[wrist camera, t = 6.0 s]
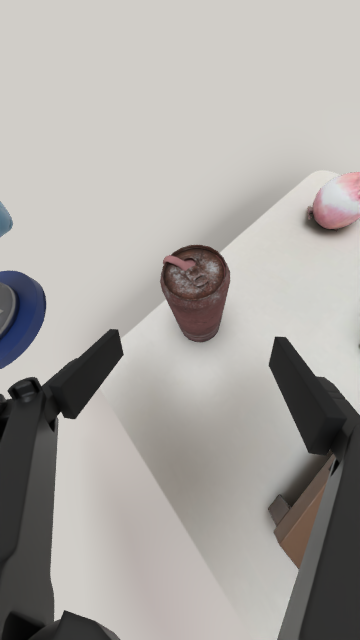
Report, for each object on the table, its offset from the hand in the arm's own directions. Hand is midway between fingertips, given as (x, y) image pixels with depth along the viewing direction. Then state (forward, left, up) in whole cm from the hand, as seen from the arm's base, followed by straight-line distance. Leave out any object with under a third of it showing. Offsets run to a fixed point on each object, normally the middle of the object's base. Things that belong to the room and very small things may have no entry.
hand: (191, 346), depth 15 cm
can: (-5, +2, -12) cm, 13 cm away
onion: (-14, +30, -12) cm, 36 cm away
